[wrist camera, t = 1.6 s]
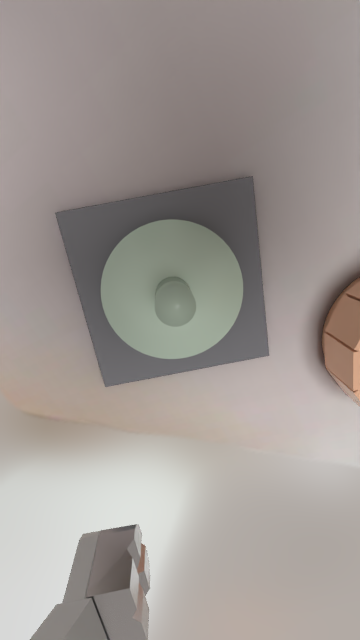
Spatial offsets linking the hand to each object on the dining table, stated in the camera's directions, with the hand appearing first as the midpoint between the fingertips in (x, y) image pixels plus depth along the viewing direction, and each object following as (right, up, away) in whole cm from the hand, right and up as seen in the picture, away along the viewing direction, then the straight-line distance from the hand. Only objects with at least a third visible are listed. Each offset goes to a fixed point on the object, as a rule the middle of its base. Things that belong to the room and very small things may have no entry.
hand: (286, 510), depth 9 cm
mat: (-4, +8, +19) cm, 21 cm away
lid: (-4, +8, +19) cm, 21 cm away
